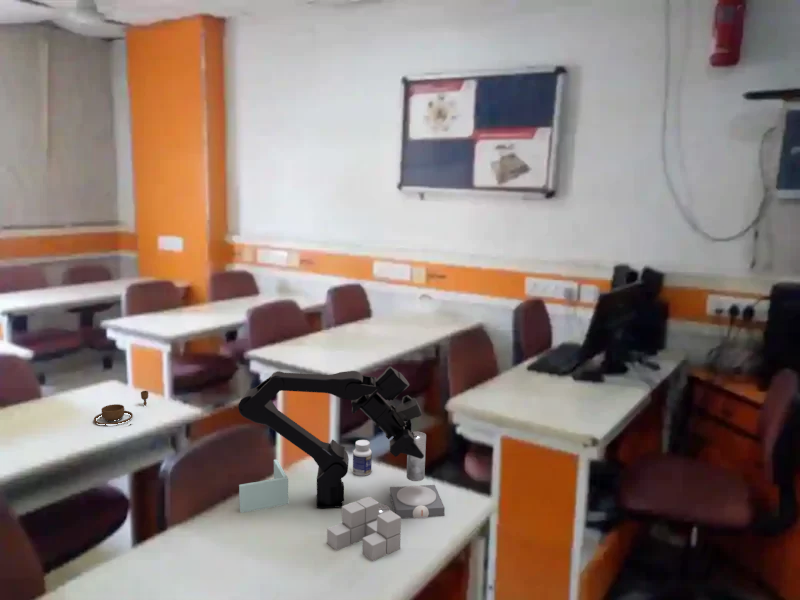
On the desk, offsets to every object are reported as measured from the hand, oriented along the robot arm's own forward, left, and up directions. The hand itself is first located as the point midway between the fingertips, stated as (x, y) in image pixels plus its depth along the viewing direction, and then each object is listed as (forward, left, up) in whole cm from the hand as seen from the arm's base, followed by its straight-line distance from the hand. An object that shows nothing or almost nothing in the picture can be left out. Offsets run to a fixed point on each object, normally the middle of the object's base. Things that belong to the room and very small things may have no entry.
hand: (421, 453), depth 165 cm
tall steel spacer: (-1, 0, -7) cm, 7 cm away
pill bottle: (-13, +18, -13) cm, 26 cm away
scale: (-1, -2, -13) cm, 13 cm away
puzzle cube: (-17, -19, -14) cm, 28 cm away
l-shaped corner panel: (-41, +7, -14) cm, 44 cm away
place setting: (-89, +68, -14) cm, 113 cm away
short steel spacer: (-11, -8, -13) cm, 19 cm away
